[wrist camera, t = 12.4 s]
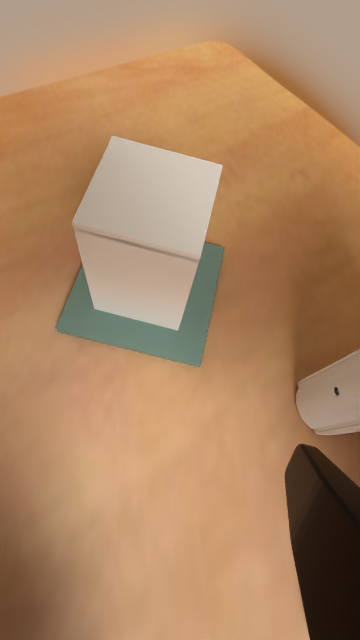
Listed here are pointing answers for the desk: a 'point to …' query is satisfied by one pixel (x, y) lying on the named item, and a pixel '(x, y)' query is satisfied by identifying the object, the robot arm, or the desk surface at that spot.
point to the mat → (147, 336)
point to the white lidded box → (144, 230)
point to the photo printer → (332, 397)
